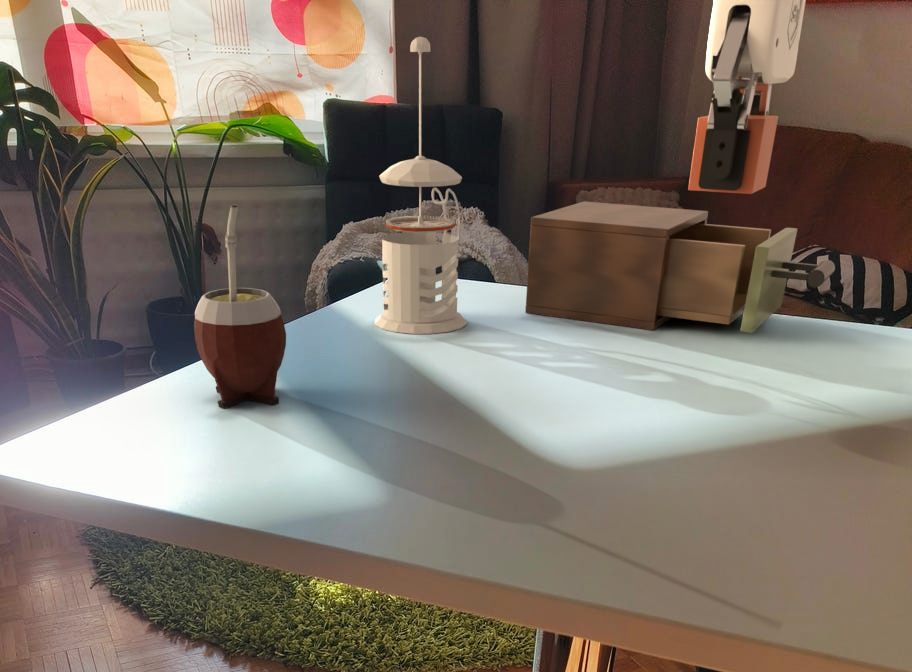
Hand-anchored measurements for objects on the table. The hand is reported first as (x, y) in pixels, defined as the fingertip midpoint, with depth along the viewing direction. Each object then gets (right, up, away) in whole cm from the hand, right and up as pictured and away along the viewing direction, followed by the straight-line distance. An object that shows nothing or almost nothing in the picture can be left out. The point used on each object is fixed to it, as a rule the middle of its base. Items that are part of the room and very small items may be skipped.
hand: (728, 182), depth 71 cm
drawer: (+8, -2, +23) cm, 24 cm away
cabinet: (-4, +1, +29) cm, 29 cm away
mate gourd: (-39, -17, +1) cm, 42 cm away
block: (0, 0, 0) cm, 0 cm away
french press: (-25, -3, +24) cm, 34 cm away
